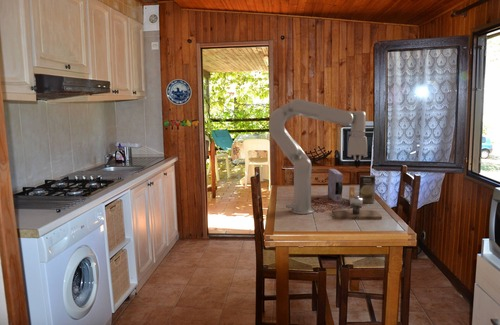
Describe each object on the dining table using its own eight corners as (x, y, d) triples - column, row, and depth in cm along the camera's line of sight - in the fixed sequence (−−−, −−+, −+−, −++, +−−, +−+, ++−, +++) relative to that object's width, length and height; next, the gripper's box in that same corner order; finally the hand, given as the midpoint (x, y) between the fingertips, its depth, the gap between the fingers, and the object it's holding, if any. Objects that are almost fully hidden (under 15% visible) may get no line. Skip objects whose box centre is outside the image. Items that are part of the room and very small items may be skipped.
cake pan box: (343, 202, 247) (343, 173, 245) (334, 202, 247) (335, 174, 245) (334, 195, 266) (335, 168, 264) (327, 195, 266) (327, 168, 264)
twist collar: (363, 206, 214) (364, 192, 213) (351, 206, 214) (351, 192, 213) (356, 199, 228) (357, 186, 227) (345, 199, 228) (345, 186, 227)
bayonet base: (334, 219, 213) (335, 208, 212) (331, 212, 225) (332, 202, 224) (381, 219, 211) (381, 208, 210) (376, 213, 223) (376, 202, 222)
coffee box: (358, 202, 246) (359, 176, 243) (358, 200, 252) (359, 174, 249) (374, 203, 243) (375, 177, 241) (374, 200, 249) (375, 175, 247)
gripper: (343, 134, 219) (342, 168, 222) (372, 134, 215) (371, 168, 218) (344, 133, 227) (343, 165, 229) (372, 133, 222) (371, 166, 225)
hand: (357, 167), depth 224 cm, fingers closed
